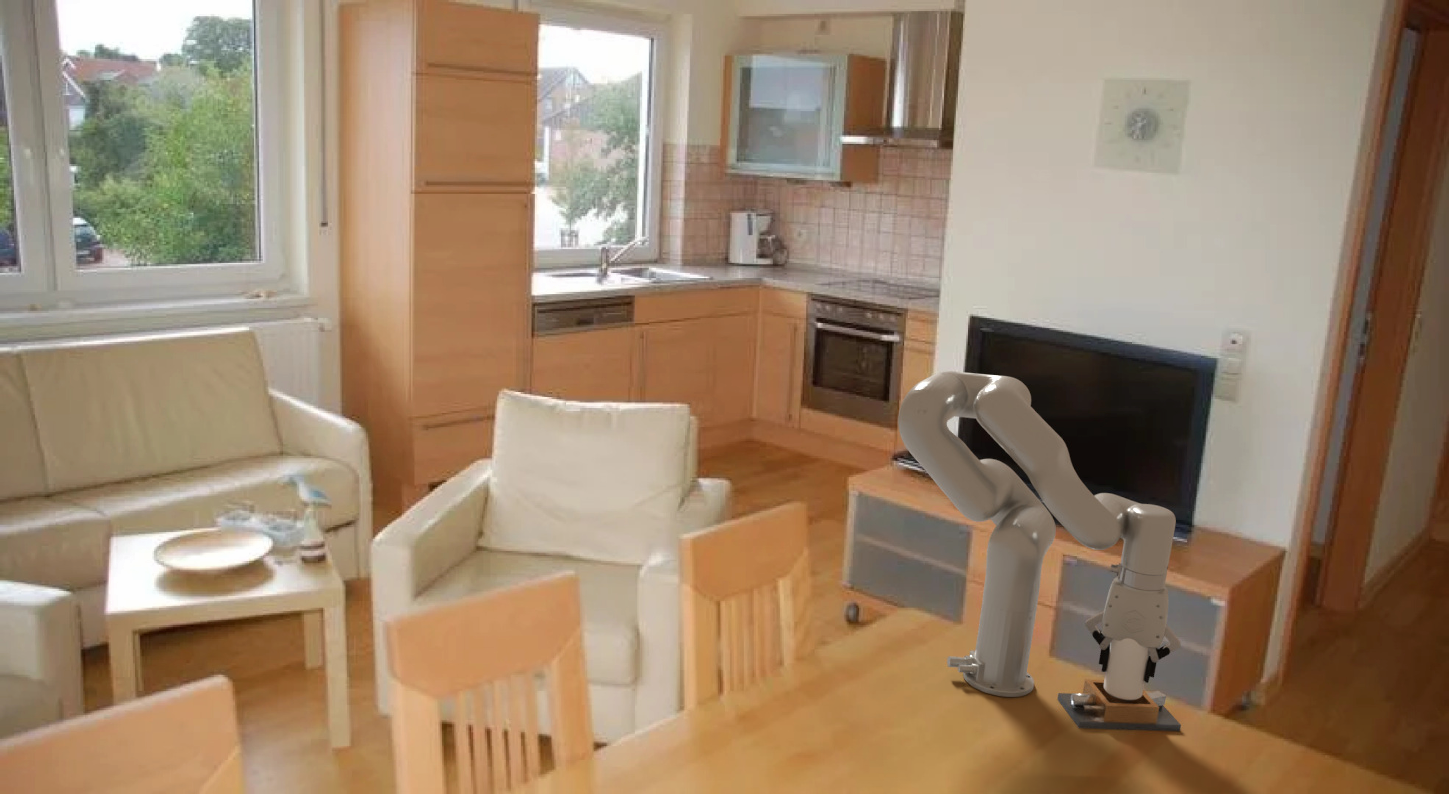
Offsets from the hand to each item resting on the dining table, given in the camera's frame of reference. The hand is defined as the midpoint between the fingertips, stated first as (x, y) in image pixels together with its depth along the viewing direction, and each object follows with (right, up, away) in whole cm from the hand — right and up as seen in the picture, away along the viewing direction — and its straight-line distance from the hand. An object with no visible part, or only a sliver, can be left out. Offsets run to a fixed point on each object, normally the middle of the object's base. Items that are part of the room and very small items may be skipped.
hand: (1125, 673), depth 202 cm
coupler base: (-1, -8, +2) cm, 8 cm away
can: (0, -4, +1) cm, 4 cm away
